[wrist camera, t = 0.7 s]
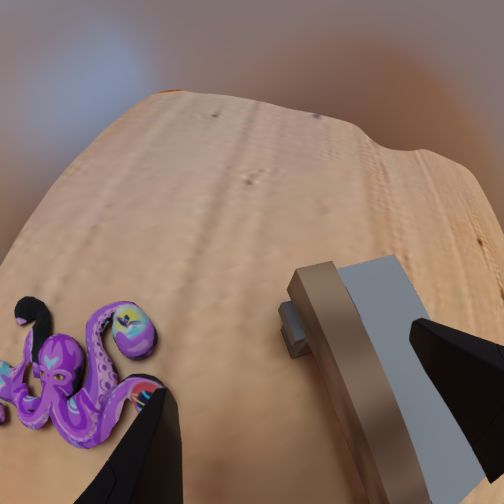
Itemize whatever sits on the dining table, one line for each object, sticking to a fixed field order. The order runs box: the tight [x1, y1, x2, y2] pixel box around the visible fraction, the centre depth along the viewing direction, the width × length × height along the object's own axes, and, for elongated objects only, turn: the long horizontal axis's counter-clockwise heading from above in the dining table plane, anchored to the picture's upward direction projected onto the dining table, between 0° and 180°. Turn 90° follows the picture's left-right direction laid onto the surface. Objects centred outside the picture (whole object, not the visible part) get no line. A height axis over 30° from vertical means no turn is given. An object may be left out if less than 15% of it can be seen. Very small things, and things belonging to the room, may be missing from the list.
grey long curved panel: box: [336, 254, 486, 504], centre depth 22 cm, size 32×9×1 cm, turn 17°
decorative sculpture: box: [0, 296, 165, 449], centre depth 19 cm, size 23×4×15 cm
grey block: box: [278, 286, 362, 359], centre depth 23 cm, size 3×6×6 cm, turn 107°
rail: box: [287, 261, 432, 504], centre depth 15 cm, size 26×3×3 cm, turn 17°
